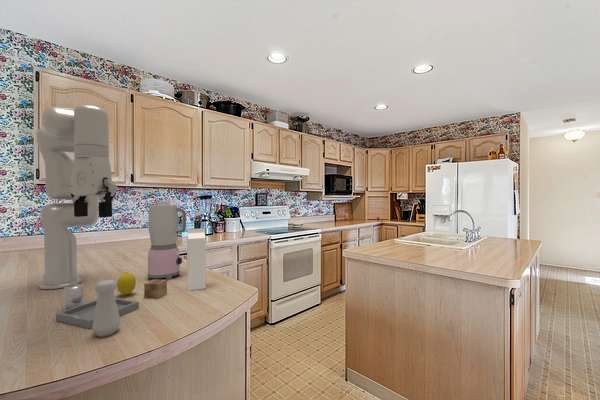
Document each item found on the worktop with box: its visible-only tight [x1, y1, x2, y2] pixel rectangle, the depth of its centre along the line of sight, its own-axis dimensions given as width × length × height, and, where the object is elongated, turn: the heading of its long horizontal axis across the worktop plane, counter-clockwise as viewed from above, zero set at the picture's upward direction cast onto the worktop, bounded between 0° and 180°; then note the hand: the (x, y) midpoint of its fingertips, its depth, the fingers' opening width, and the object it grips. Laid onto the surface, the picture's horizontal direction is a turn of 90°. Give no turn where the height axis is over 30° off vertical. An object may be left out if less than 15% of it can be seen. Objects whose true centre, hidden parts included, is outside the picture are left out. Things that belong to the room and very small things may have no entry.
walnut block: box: [143, 278, 168, 300], centre depth 96 cm, size 5×5×5 cm
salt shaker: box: [91, 279, 121, 338], centre depth 70 cm, size 6×6×13 cm
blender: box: [147, 201, 187, 281], centre depth 118 cm, size 16×12×32 cm
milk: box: [186, 227, 207, 292], centre depth 105 cm, size 6×6×22 cm
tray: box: [55, 297, 140, 330], centre depth 81 cm, size 14×14×2 cm
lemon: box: [116, 271, 137, 296], centre depth 96 cm, size 6×6×8 cm
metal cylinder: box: [64, 283, 85, 311], centre depth 85 cm, size 4×4×7 cm
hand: (93, 216), depth 76 cm, fingers open, 9 cm apart
